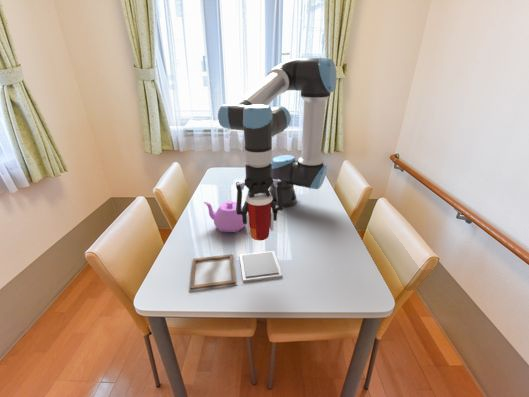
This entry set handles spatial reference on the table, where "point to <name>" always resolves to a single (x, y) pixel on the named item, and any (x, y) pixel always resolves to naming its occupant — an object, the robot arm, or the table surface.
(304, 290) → the table surface
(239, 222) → the teapot
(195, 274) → the wooden picture frame
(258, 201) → the coffee cup
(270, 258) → the ink pad
